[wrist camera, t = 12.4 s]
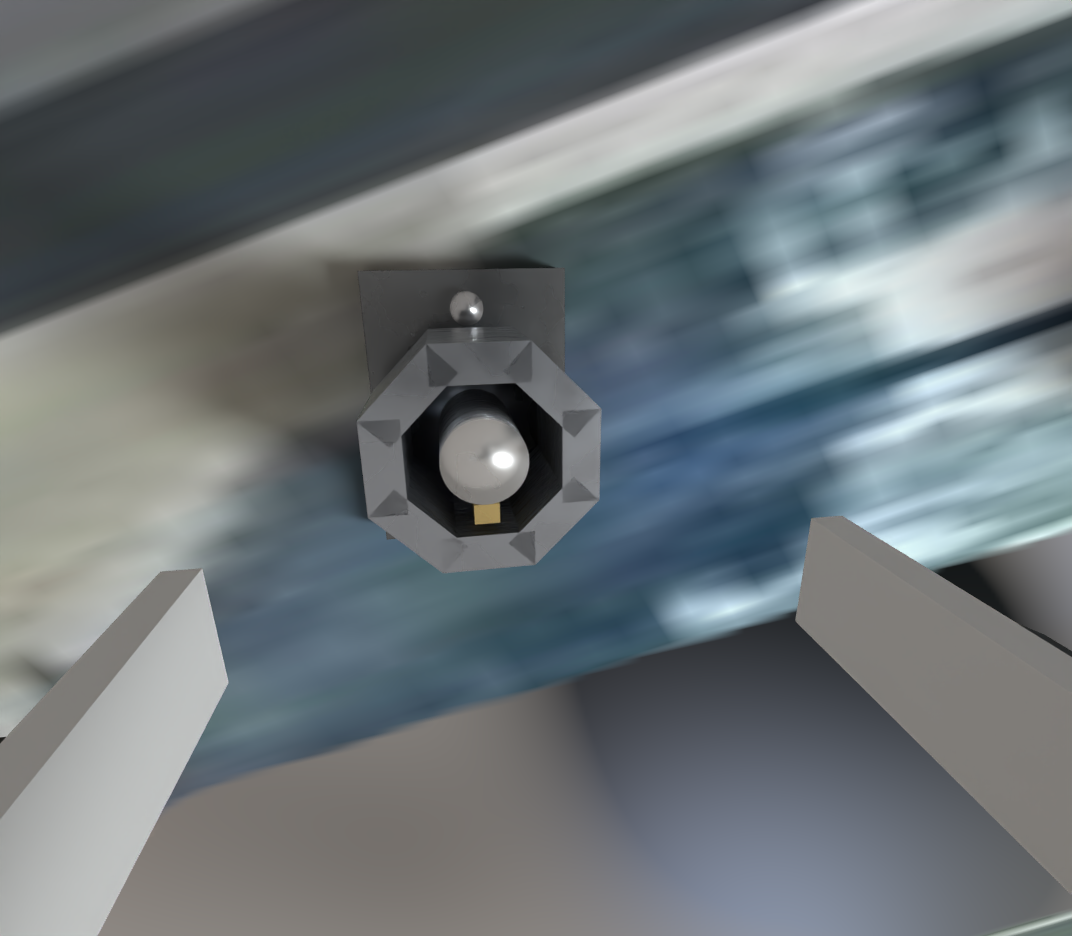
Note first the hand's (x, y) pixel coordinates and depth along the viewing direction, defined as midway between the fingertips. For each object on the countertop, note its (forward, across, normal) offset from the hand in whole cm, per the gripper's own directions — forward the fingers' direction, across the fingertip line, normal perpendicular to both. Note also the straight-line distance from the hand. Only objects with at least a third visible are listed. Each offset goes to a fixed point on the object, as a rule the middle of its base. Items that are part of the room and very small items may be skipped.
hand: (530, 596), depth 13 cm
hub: (+16, 0, 0) cm, 16 cm away
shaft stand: (+21, 0, 0) cm, 21 cm away
